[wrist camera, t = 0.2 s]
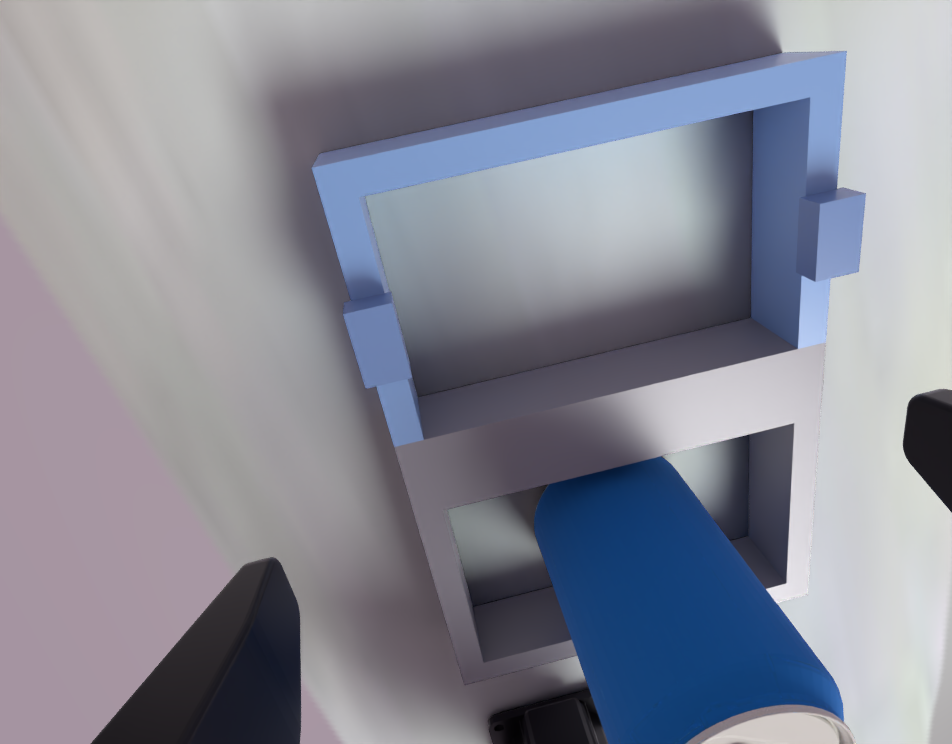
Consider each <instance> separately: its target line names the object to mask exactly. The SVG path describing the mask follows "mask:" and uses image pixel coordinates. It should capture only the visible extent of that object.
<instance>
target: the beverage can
mask: <svg viewBox="0 0 952 744" xmlns="http://www.w3.org/2000/svg"><path fill="white" fill-rule="evenodd" d="M534 531H535V536H536V539H537V542H538V545H539V548H540V551H541V553H542V556H543V559H544V562H545V565H546V568H547V570H548V573H549V576H550V579H551V582H552V585H553V588H554V590H555V593H556V596H557V599H558V602H559V605H560V607H561V610H562V613H563V616H564V619H565V622H566V625H567V627H568V630H569V633H570V636H571V639H572V642H573V644H574V647H575V650H576V653H577V656H578V659H579V661H580V664H581V667H582V670H583V673H584V676H585V679H586V681H587V684H588V687H589V690H590V693H591V696H592V698H593V701H594V704H595V707H596V710H597V713H598V715H599V718H600V721H601V724H602V727H603V730H604V733H605V735H606V738H607V741H608V744H856V741H855V738H854V736H853V734H852V732H851V731H850V729H849V727H848V726H847V725H846V724H845V723H844V715H843V703H842V699H841V696H840V692H839V689H838V687H837V685H836V683H835V681H834V679H833V678H832V676H831V675H830V673H829V672H828V671H827V669H826V668H825V667H824V666H823V664H822V663H821V662H820V660H819V659H818V658H817V656H816V655H815V654H814V652H813V651H812V650H811V648H810V647H809V646H808V644H807V643H806V642H805V640H804V639H803V638H802V636H801V635H800V634H799V632H798V631H797V630H796V628H795V627H794V626H793V624H792V623H791V622H790V620H789V619H788V618H787V616H786V615H785V614H784V612H783V611H782V610H781V608H780V607H779V606H778V605H777V603H776V602H775V601H774V599H773V598H772V597H771V595H770V594H769V593H768V591H767V590H766V589H765V587H764V586H763V585H762V583H761V582H760V581H759V579H758V578H757V577H756V575H755V574H754V573H753V571H752V570H751V569H750V567H749V566H748V565H747V563H746V562H745V561H744V559H743V558H742V557H741V555H740V554H739V553H738V551H737V550H736V549H735V547H734V546H733V545H732V544H731V542H730V541H729V540H728V538H727V537H726V536H725V534H724V533H723V532H722V530H721V529H720V528H719V526H718V525H717V524H716V522H715V521H714V520H713V518H712V517H711V516H710V514H709V513H708V512H707V510H706V509H705V508H704V506H703V505H702V504H701V502H700V501H699V500H698V498H697V497H696V496H695V494H694V493H693V492H692V490H691V489H690V488H689V486H688V485H687V484H686V483H685V481H684V480H683V479H682V477H681V476H680V475H679V473H678V472H677V471H676V469H675V468H674V467H673V466H672V465H671V464H670V463H669V462H668V461H667V460H665V459H664V458H662V457H661V456H660V457H656V458H652V459H648V460H644V461H640V462H636V463H632V464H628V465H624V466H620V467H616V468H612V469H608V470H604V471H600V472H596V473H592V474H588V475H584V476H580V477H576V478H572V479H568V480H564V481H560V482H556V483H552V484H548V486H547V487H546V489H545V490H544V492H543V493H542V495H541V497H540V499H539V502H538V504H537V507H536V511H535V517H534Z"/></svg>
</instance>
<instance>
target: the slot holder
mask: <svg viewBox="0 0 952 744" xmlns="http://www.w3.org/2000/svg"><path fill="white" fill-rule="evenodd" d="M846 53H847V51H828V52H788V53H780V54H775V55H771V56H766V57H761V58H757V59H752V60H748V61H743V62H738V63H734V64H729V65H725V66H720V67H715V68H711V69H706V70H702V71H697V72H692V73H688V74H683V75H679V76H674V77H669V78H665V79H660V80H656V81H651V82H646V83H642V84H637V85H633V86H628V87H623V88H619V89H614V90H610V91H605V92H600V93H596V94H591V95H587V96H582V97H577V98H573V99H568V100H564V101H559V102H554V103H550V104H545V105H541V106H536V107H531V108H527V109H522V110H518V111H513V112H508V113H504V114H499V115H495V116H490V117H485V118H481V119H476V120H472V121H467V122H462V123H458V124H453V125H449V126H444V127H439V128H435V129H430V130H426V131H421V132H416V133H412V134H407V135H403V136H398V137H394V138H389V139H384V140H380V141H375V142H371V143H366V144H361V145H357V146H352V147H348V148H343V149H338V150H334V151H329V152H325V153H320V154H319V155H318V157H317V159H316V161H315V163H314V164H313V166H312V171H313V174H314V178H315V181H316V184H317V188H318V191H319V195H320V198H321V201H322V205H323V208H324V212H325V215H326V218H327V222H328V225H329V228H330V232H331V235H332V239H333V242H334V245H335V249H336V252H337V256H338V259H339V262H340V266H341V269H342V272H343V276H344V279H345V283H346V286H347V289H348V293H349V296H350V300H351V301H347V302H344V308H343V316H344V320H345V323H346V326H347V330H348V333H349V336H350V339H351V343H352V346H353V349H354V353H355V356H356V359H357V362H358V366H359V369H360V372H361V375H362V379H363V382H364V385H365V389H367V388H371V387H377V391H378V394H379V398H380V401H381V404H382V408H383V411H384V415H385V418H386V421H387V425H388V428H389V431H390V435H391V438H392V442H393V445H394V448H395V452H396V455H397V459H398V462H399V465H400V469H401V472H402V475H403V479H404V482H405V486H406V489H407V492H408V496H409V499H410V503H411V506H412V509H413V513H414V516H415V519H416V523H417V526H418V530H419V533H420V536H421V540H422V543H423V547H424V550H425V553H426V557H427V560H428V563H429V567H430V570H431V574H432V577H433V580H434V584H435V587H436V590H437V594H438V597H439V601H440V604H441V607H442V611H443V614H444V618H445V621H446V624H447V628H448V631H449V634H450V638H451V641H452V645H453V648H454V651H455V655H456V658H457V662H458V665H459V668H460V672H461V675H462V678H463V682H464V685H467V684H471V683H475V682H478V681H482V680H486V679H490V678H494V677H497V676H501V675H505V674H509V673H513V672H516V671H520V670H524V669H528V668H532V667H535V666H539V665H543V664H547V663H551V662H554V661H558V660H562V659H566V658H570V657H573V656H577V653H576V650H575V647H574V644H573V642H572V639H571V636H570V633H569V630H568V627H567V625H566V622H565V619H564V616H563V613H562V610H561V607H560V605H559V602H558V599H557V596H556V593H555V590H554V588H553V587H549V588H545V589H541V590H537V591H533V592H529V593H525V594H521V595H518V596H514V597H510V598H506V599H502V600H498V601H494V602H490V603H486V604H483V605H479V606H475V607H473V605H472V601H471V598H470V594H469V590H468V586H467V582H466V579H465V575H464V571H463V567H462V563H461V560H460V556H459V552H458V548H457V544H456V541H455V537H454V533H453V529H452V526H451V522H450V518H449V514H448V510H447V509H451V508H455V507H459V506H463V505H467V504H471V503H475V502H479V501H483V500H487V499H491V498H495V497H499V496H503V495H507V494H511V493H515V492H519V491H523V490H527V489H531V488H535V487H539V486H543V485H547V484H552V483H556V482H560V481H564V480H568V479H572V478H576V477H580V476H584V475H588V474H592V473H596V472H600V471H604V470H608V469H612V468H616V467H620V466H624V465H628V464H632V463H636V462H640V461H644V460H648V459H652V458H656V457H660V456H664V455H668V454H672V453H676V452H680V451H684V450H688V449H692V448H696V447H700V446H704V445H708V444H712V443H716V442H720V441H724V440H728V439H732V438H736V437H740V436H744V435H748V434H750V440H749V526H748V536H747V537H743V538H739V539H735V540H731V541H730V542H731V544H732V545H733V546H734V547H735V549H736V550H737V551H738V553H739V554H740V555H741V557H742V558H743V559H744V561H745V562H746V563H747V565H748V566H749V567H750V569H751V570H752V571H753V573H754V574H755V575H756V577H757V578H758V579H759V581H760V582H761V583H762V585H763V586H764V587H765V589H766V590H767V591H768V593H769V594H770V595H771V597H772V598H773V599H774V601H775V602H776V603H778V602H782V601H786V600H790V599H793V598H797V597H801V596H805V595H808V586H809V572H810V558H811V544H812V530H813V516H814V502H815V488H816V473H817V459H818V445H819V431H820V417H821V403H822V389H823V375H824V361H825V347H826V333H827V319H828V305H829V291H830V279H831V278H835V277H839V276H843V275H847V274H852V273H856V272H859V262H860V252H861V241H862V230H863V219H864V208H865V197H866V193H862V192H858V191H854V190H850V189H847V188H839V189H837V179H838V165H839V151H840V137H841V123H842V109H843V95H844V81H845V67H846ZM751 110H753V184H752V270H751V318H748V319H743V320H739V321H735V322H731V323H727V324H722V325H718V326H714V327H710V328H706V329H702V330H697V331H693V332H689V333H685V334H681V335H676V336H672V337H668V338H664V339H660V340H656V341H651V342H647V343H643V344H639V345H635V346H630V347H626V348H622V349H618V350H614V351H609V352H605V353H601V354H597V355H593V356H589V357H584V358H580V359H576V360H572V361H568V362H563V363H559V364H555V365H551V366H547V367H543V368H538V369H534V370H530V371H526V372H522V373H517V374H513V375H509V376H505V377H501V378H497V379H492V380H488V381H484V382H480V383H476V384H471V385H467V386H463V387H459V388H455V389H451V390H446V391H442V392H438V393H434V394H430V395H425V396H421V397H417V393H416V389H415V385H414V381H413V378H412V373H411V366H410V361H409V357H408V354H407V350H406V346H405V342H404V338H403V334H402V331H401V327H400V323H399V319H398V315H397V312H396V308H395V304H394V300H393V296H392V293H391V292H390V291H389V287H388V283H387V279H386V275H385V272H384V268H383V264H382V260H381V256H380V253H379V249H378V245H377V241H376V237H375V234H374V230H373V226H372V222H371V218H370V215H369V211H368V207H367V203H366V200H365V196H368V195H372V194H377V193H381V192H386V191H390V190H395V189H399V188H404V187H408V186H413V185H417V184H422V183H426V182H431V181H435V180H440V179H444V178H449V177H453V176H458V175H462V174H467V173H471V172H476V171H480V170H485V169H489V168H494V167H498V166H503V165H507V164H512V163H516V162H521V161H525V160H530V159H534V158H539V157H543V156H548V155H552V154H557V153H561V152H566V151H570V150H575V149H579V148H584V147H588V146H593V145H598V144H602V143H607V142H611V141H616V140H620V139H625V138H629V137H634V136H638V135H643V134H647V133H652V132H656V131H661V130H665V129H670V128H674V127H679V126H683V125H688V124H692V123H697V122H701V121H706V120H710V119H715V118H719V117H724V116H728V115H733V114H737V113H742V112H746V111H751Z"/></svg>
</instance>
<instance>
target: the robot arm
mask: <svg viewBox="0 0 952 744" xmlns="http://www.w3.org/2000/svg"><path fill="white" fill-rule="evenodd" d="M903 450H904V453H905V456H906V458H907V459H908V461H909V462H910V464H911V465H912V466H913V467H914V469H915V470H916V471H917V472H918V473H919V474H920V476H921V477H922V478H923V479H924V480H925V481H926V483H927V484H928V485H929V486H930V487H931V489H932V490H933V491H934V492H935V493H936V494H937V496H938V497H939V498H940V499H941V500H942V502H943V503H944V504H945V505H946V506H947V507H948V509H949V510H950V511H951V512H952V390H948V389H938V390H934V391H930V392H926V393H922V394H918V395H916V396H914V397H913V398H911V400H910V402H909V403H908V407H907V415H906V422H905V430H904V438H903ZM488 727H489V732H490V735H491V739H492V742H493V744H608V741H607V738H606V735H605V733H604V730H603V727H602V724H601V721H600V718H599V715H598V713H597V710H596V707H595V704H594V701H593V698H592V696H591V693H590V690H585V691H581V692H578V693H574V694H570V695H566V696H563V697H559V698H555V699H551V700H548V701H544V702H540V703H536V704H533V705H529V706H525V707H521V708H518V709H514V710H510V711H506V712H503V713H499V714H495V715H493V716H491V717H490V718H489V720H488ZM300 733H301V659H300V613H299V607H298V603H297V600H296V597H295V595H294V593H293V590H292V588H291V586H290V584H289V581H288V579H287V577H286V574H285V572H284V570H283V567H282V565H281V563H280V562H279V561H278V560H277V559H276V558H273V557H270V558H266V559H262V560H258V561H254V562H250V563H247V564H245V565H244V566H243V567H242V568H241V569H240V570H239V571H238V572H237V573H236V575H235V576H234V577H233V578H232V579H231V580H230V582H229V583H228V584H227V585H226V587H224V589H223V590H222V591H221V592H220V594H219V595H218V596H217V597H216V598H215V599H214V600H213V601H212V603H211V604H210V605H209V606H208V607H207V609H206V610H205V611H204V612H203V613H202V614H201V615H200V617H199V618H198V619H197V620H196V621H195V623H194V624H193V625H192V626H191V627H190V628H189V630H188V631H187V632H186V633H185V634H184V635H183V637H182V638H181V639H180V640H179V641H178V643H177V644H176V645H175V646H174V647H173V648H172V649H171V651H170V652H169V653H168V654H167V655H166V656H165V658H164V659H163V660H162V661H161V662H160V663H159V665H158V666H157V667H156V668H155V669H154V671H153V672H152V673H151V674H150V675H149V676H148V677H147V679H146V680H145V681H144V682H143V683H142V684H141V686H140V687H139V688H138V689H137V690H136V691H135V693H134V694H133V695H132V696H131V697H130V698H129V700H128V701H127V702H126V703H125V704H124V705H123V707H122V708H121V709H120V710H119V711H118V712H117V714H116V715H115V716H114V717H113V718H112V719H111V721H110V722H109V723H108V724H107V725H106V727H105V728H104V729H103V730H102V731H101V732H100V733H99V735H98V736H97V737H96V738H95V739H94V740H93V742H92V743H91V744H300Z"/></svg>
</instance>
